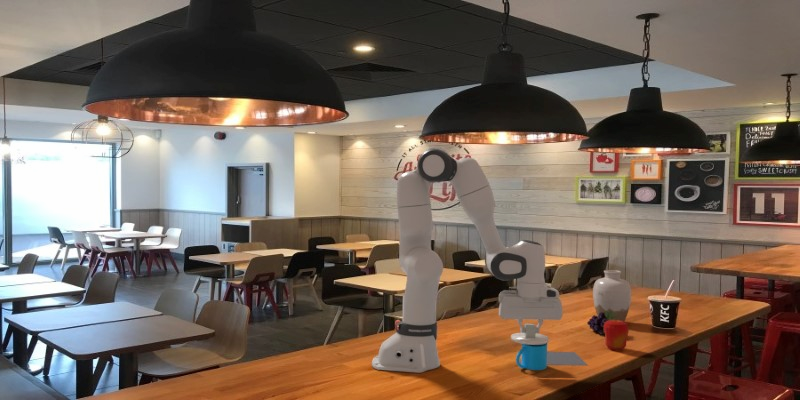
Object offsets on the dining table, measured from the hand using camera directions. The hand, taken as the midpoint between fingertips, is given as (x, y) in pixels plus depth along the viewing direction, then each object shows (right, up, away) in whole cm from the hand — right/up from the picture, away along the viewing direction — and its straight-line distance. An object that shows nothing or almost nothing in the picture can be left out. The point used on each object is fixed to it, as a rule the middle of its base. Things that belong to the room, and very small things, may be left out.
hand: (529, 332), depth 199 cm
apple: (+37, -12, +26) cm, 47 cm away
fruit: (+41, -11, +49) cm, 65 cm away
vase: (+50, -11, +69) cm, 86 cm away
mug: (0, -12, 0) cm, 12 cm away
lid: (0, -2, 0) cm, 2 cm away
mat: (+12, -12, +11) cm, 20 cm away
